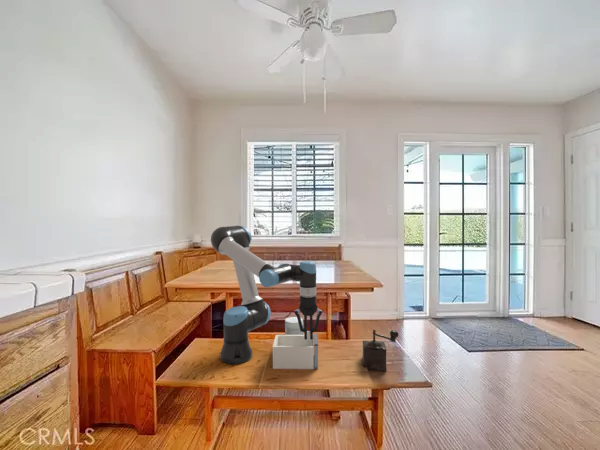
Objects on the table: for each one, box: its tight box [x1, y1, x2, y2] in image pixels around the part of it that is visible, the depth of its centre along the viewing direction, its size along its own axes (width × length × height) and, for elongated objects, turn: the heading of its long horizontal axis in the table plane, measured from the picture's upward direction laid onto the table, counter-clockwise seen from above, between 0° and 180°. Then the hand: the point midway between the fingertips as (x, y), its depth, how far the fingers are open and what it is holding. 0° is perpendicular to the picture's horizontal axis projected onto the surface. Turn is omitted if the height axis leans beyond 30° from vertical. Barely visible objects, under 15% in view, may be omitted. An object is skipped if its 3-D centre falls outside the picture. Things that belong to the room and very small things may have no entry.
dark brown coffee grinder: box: [361, 329, 399, 372], centre depth 151 cm, size 16×11×18 cm
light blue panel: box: [313, 333, 319, 370], centre depth 153 cm, size 2×14×11 cm, turn 178°
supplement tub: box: [284, 316, 304, 335], centre depth 171 cm, size 10×10×15 cm
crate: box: [272, 334, 315, 370], centre depth 154 cm, size 18×14×11 cm
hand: (308, 346), depth 153 cm, fingers closed
